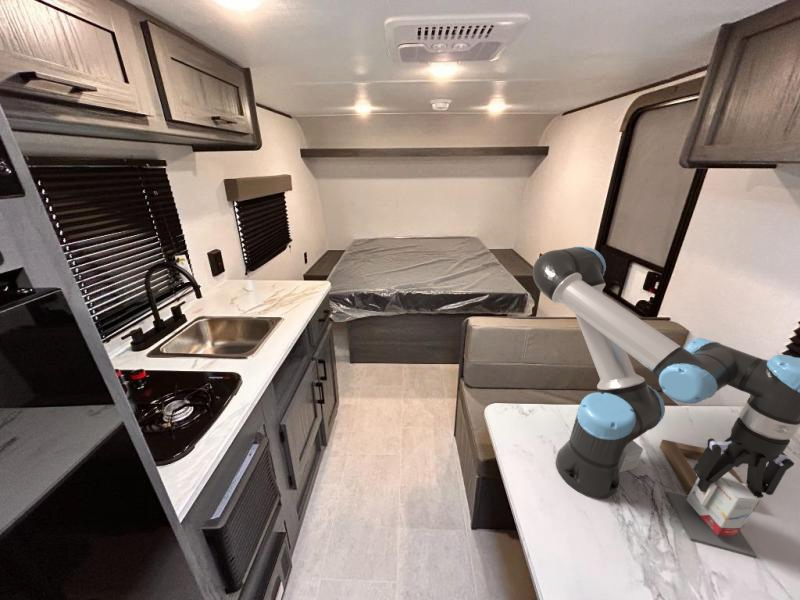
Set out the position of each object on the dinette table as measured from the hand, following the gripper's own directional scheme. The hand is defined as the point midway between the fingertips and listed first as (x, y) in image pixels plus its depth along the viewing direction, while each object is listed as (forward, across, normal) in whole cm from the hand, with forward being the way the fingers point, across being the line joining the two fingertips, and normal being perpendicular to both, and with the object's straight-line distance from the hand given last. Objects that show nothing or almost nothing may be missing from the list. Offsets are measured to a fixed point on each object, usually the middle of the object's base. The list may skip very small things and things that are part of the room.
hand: (717, 504), depth 73 cm
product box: (+7, -15, +13) cm, 21 cm away
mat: (+6, 0, 0) cm, 6 cm away
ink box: (+5, 0, 0) cm, 5 cm away
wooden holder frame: (+6, +6, +15) cm, 17 cm away
